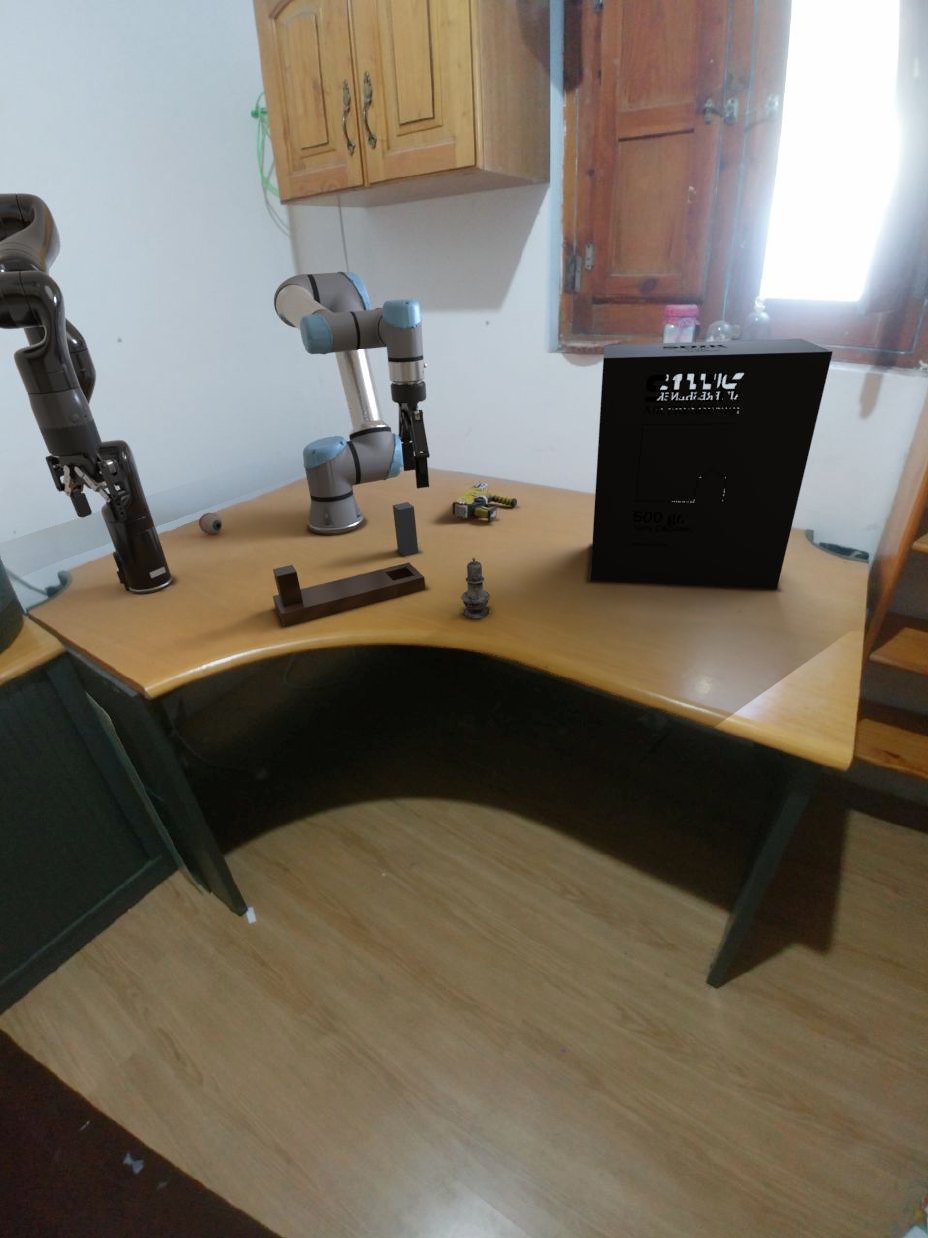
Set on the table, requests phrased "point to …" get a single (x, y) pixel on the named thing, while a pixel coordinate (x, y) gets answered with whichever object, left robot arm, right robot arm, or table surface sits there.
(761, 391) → the cardboard box
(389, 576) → the walnut plank
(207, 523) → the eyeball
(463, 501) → the toy gun
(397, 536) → the grey peg
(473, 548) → the table surface
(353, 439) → the right robot arm
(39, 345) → the left robot arm
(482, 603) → the grey chess piece
